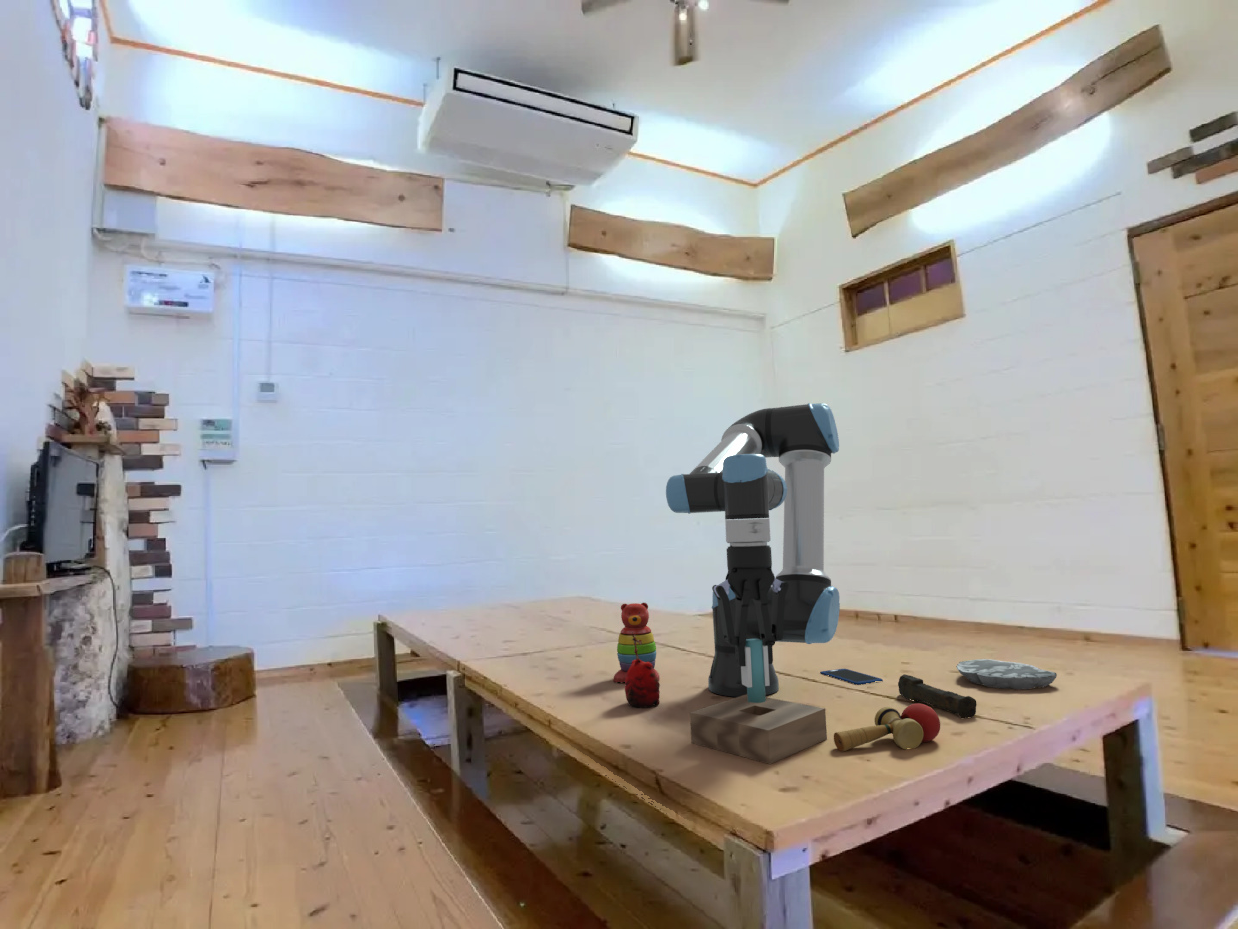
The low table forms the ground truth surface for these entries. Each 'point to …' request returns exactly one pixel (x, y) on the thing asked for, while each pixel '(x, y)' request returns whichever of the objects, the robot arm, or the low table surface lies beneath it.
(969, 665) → the brain slice
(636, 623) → the stacking bear
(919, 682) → the hand tool
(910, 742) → the kendama
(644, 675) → the red clay folk toy
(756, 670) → the peg
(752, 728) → the hole block
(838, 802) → the low table surface
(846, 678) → the cell phone
